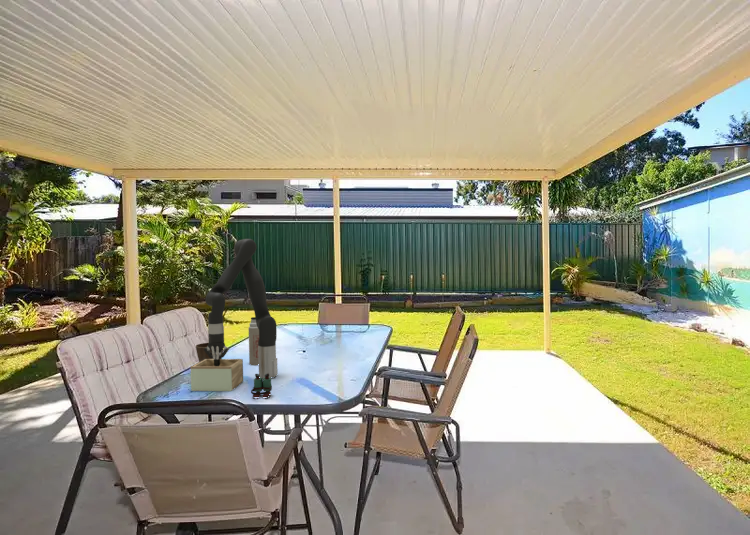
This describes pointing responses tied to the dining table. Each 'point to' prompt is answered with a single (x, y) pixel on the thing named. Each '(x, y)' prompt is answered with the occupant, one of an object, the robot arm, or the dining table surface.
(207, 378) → the panel
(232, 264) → the robot arm
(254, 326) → the thermos bottle
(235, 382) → the crate
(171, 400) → the dining table surface
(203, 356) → the plant pot
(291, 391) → the dining table surface
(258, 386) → the binoculars
